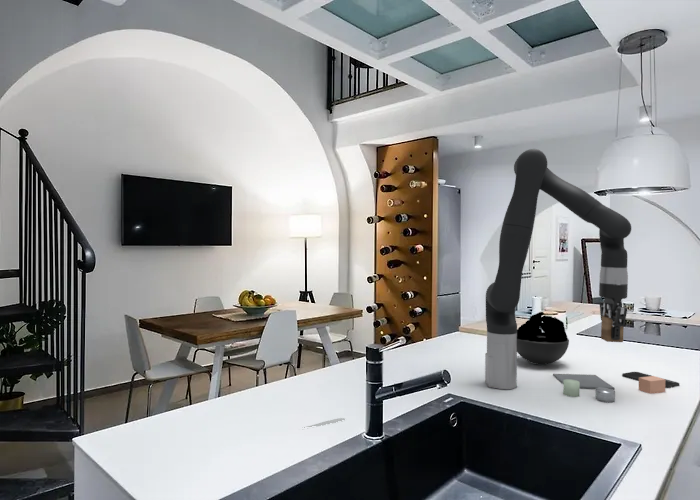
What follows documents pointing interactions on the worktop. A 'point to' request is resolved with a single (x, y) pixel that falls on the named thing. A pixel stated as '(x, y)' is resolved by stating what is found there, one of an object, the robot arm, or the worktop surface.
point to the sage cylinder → (571, 388)
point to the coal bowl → (542, 339)
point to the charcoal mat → (585, 380)
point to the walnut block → (609, 330)
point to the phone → (637, 374)
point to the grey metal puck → (605, 395)
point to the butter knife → (328, 422)
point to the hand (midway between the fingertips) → (611, 337)
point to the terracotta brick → (651, 384)
